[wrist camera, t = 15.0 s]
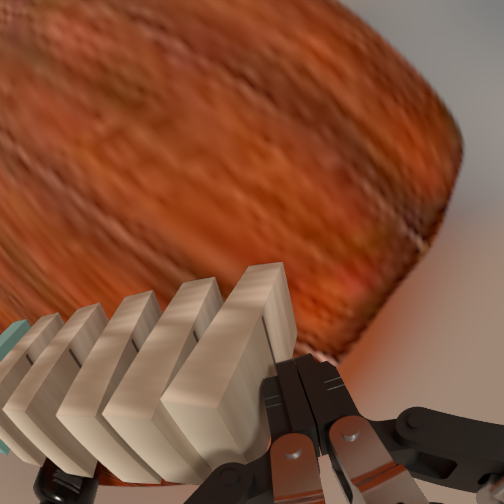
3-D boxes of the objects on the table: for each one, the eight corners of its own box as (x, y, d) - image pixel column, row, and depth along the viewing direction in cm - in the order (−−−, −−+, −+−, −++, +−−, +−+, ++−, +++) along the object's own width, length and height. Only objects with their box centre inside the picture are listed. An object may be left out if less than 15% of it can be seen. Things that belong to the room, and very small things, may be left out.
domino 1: (42, 370, 18) (-7, 450, 8) (13, 322, 16) (-52, 395, 7) (56, 369, 18) (7, 455, 8) (26, 319, 16) (-43, 398, 7)
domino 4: (154, 358, 18) (123, 481, 8) (125, 296, 16) (55, 415, 7) (181, 353, 18) (161, 483, 8) (153, 290, 16) (94, 417, 7)
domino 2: (71, 368, 18) (23, 461, 8) (41, 316, 16) (-31, 402, 7) (89, 367, 18) (42, 466, 8) (59, 312, 16) (-16, 405, 7)
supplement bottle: (44, 433, 21) (14, 505, 9) (74, 430, 20) (43, 517, 9) (82, 465, 23) (63, 534, 12) (116, 464, 23) (99, 545, 11)
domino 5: (208, 348, 18) (166, 481, 9) (183, 282, 16) (101, 413, 7) (237, 345, 18) (209, 486, 8) (215, 276, 16) (151, 420, 7)
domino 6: (267, 334, 18) (212, 469, 9) (248, 265, 16) (159, 399, 8) (297, 333, 17) (257, 477, 8) (282, 261, 16) (217, 409, 7)
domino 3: (110, 365, 18) (66, 473, 8) (77, 308, 16) (2, 409, 7) (132, 361, 18) (92, 477, 8) (99, 302, 16) (24, 412, 7)
